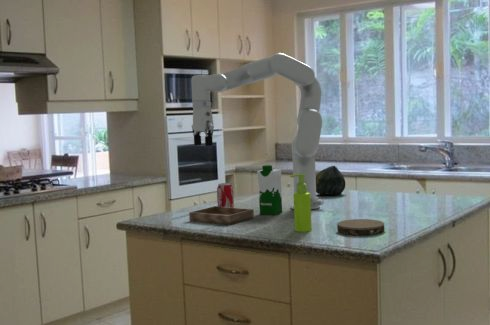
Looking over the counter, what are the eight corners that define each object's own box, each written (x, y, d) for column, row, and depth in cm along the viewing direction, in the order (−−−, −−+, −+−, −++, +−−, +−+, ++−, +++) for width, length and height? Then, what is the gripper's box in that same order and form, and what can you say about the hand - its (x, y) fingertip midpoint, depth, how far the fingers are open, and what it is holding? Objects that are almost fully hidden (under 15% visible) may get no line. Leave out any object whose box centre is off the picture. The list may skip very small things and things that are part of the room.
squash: (308, 182, 308) (315, 161, 298) (336, 181, 312) (344, 160, 301) (315, 204, 299) (323, 183, 288) (344, 203, 302) (353, 182, 292)
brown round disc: (383, 227, 221) (382, 218, 220) (385, 236, 205) (385, 227, 205) (337, 227, 223) (337, 219, 223) (337, 237, 208) (336, 228, 207)
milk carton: (256, 214, 255) (254, 166, 253) (266, 210, 262) (264, 163, 261) (276, 215, 250) (274, 166, 249) (285, 211, 258) (283, 164, 257)
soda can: (232, 213, 261) (231, 184, 259) (216, 213, 262) (214, 185, 261) (236, 210, 267) (234, 182, 266) (220, 210, 269) (218, 182, 268)
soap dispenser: (290, 229, 222) (288, 173, 220) (309, 228, 222) (307, 172, 221) (293, 232, 216) (291, 175, 214) (312, 231, 217) (311, 174, 215)
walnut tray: (253, 218, 247) (253, 209, 247) (228, 225, 234) (228, 216, 234) (215, 214, 259) (215, 206, 259) (189, 220, 247) (189, 212, 246)
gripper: (219, 104, 255) (221, 145, 257) (199, 105, 270) (201, 144, 271) (203, 104, 251) (205, 146, 253) (184, 105, 266) (185, 145, 267)
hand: (203, 145), depth 262 cm, fingers open, 9 cm apart
